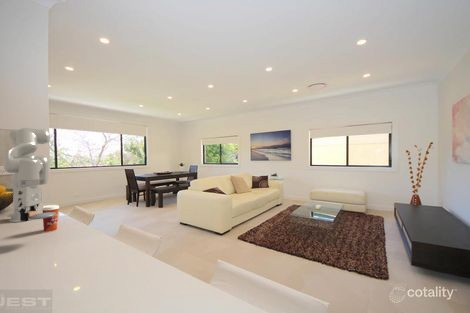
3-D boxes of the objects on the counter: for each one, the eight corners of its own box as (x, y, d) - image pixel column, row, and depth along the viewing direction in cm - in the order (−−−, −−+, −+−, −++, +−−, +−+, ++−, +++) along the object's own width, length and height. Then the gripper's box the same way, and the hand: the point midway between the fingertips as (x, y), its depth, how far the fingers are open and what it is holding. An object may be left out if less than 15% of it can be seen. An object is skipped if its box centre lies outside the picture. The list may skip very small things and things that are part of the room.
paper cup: (50, 232, 116) (51, 208, 116) (37, 232, 116) (37, 207, 116) (62, 227, 124) (63, 204, 124) (50, 227, 124) (50, 204, 124)
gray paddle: (60, 213, 111) (60, 208, 111) (46, 219, 101) (46, 214, 101) (32, 214, 109) (32, 209, 109) (15, 220, 99) (14, 215, 99)
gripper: (22, 185, 97) (22, 224, 97) (49, 181, 113) (49, 214, 113) (4, 185, 96) (3, 225, 96) (34, 181, 112) (34, 214, 112)
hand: (28, 218), depth 105 cm, fingers closed on gray paddle, 3 cm apart
